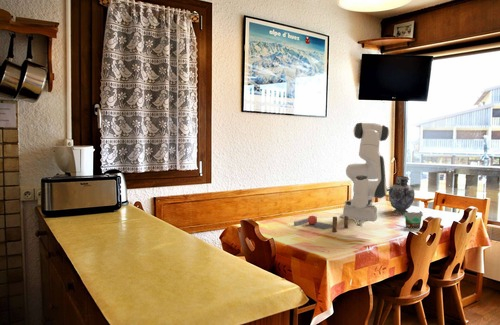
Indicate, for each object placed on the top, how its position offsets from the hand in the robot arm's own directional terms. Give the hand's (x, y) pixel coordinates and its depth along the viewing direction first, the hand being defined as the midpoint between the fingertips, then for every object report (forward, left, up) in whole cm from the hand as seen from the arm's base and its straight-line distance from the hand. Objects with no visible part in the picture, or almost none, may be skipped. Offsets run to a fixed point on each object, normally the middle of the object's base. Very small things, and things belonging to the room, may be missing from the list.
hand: (359, 226), depth 224 cm
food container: (+19, +41, -5) cm, 45 cm away
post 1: (-12, -8, -4) cm, 15 cm away
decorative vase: (-7, +86, -5) cm, 86 cm away
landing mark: (-26, 0, -4) cm, 26 cm away
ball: (-31, -2, -1) cm, 31 cm away
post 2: (-12, +7, -4) cm, 15 cm away
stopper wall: (-38, 0, -4) cm, 38 cm away
